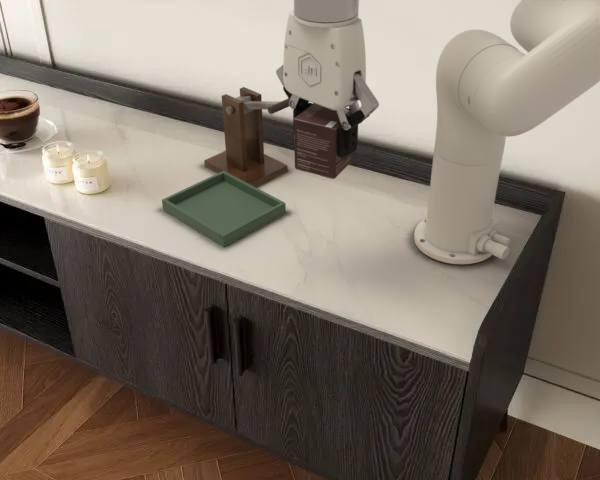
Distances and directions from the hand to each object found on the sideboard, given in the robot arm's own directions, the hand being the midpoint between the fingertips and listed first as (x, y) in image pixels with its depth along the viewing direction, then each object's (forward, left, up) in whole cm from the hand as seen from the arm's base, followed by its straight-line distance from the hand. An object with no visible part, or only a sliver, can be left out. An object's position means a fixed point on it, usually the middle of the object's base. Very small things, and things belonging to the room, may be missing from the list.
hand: (324, 143), depth 99 cm
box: (0, 0, -3) cm, 3 cm away
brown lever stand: (+30, -12, -20) cm, 38 cm away
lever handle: (+25, -12, -8) cm, 29 cm away
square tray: (+22, 0, -20) cm, 30 cm away
